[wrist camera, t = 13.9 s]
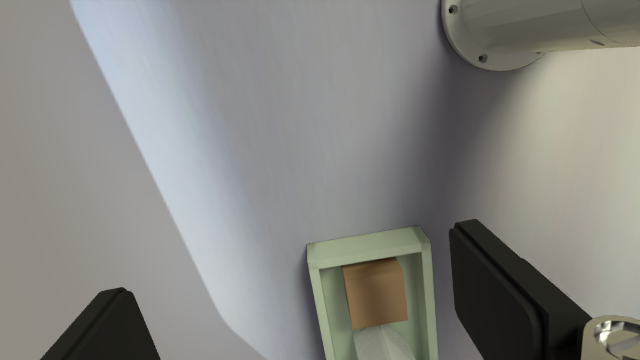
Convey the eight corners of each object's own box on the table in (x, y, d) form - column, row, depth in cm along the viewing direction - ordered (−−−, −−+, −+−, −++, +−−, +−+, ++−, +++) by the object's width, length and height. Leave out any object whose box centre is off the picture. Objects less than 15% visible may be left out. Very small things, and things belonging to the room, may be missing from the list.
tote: (418, 225, 41) (430, 241, 37) (428, 361, 47) (440, 387, 44) (306, 244, 41) (307, 262, 37) (331, 378, 47) (334, 405, 43)
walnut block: (391, 248, 41) (403, 272, 36) (395, 292, 43) (408, 320, 38) (339, 256, 41) (345, 281, 36) (346, 300, 43) (352, 329, 38)
